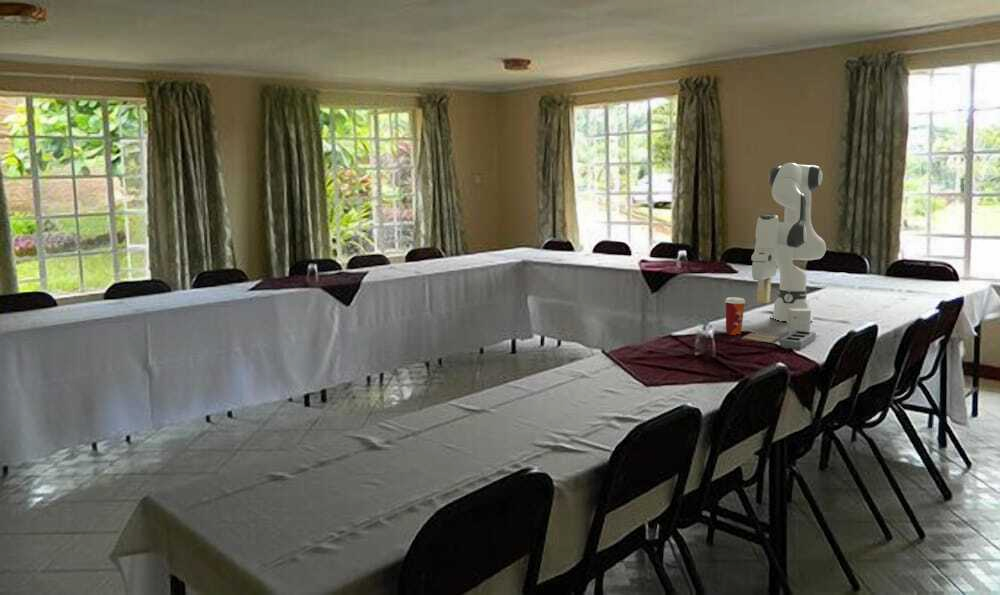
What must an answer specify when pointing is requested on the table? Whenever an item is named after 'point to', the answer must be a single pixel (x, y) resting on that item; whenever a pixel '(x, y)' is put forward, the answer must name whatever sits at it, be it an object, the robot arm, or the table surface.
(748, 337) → the pad
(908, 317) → the table surface
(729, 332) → the coffee cup
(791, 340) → the grey slotted block
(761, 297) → the peg
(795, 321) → the small box
